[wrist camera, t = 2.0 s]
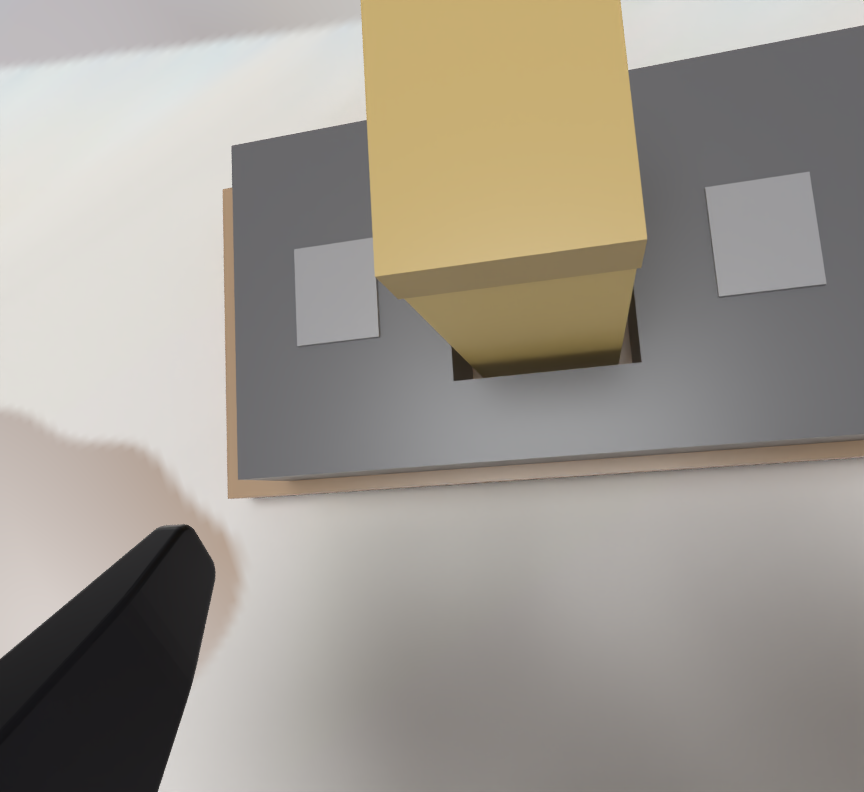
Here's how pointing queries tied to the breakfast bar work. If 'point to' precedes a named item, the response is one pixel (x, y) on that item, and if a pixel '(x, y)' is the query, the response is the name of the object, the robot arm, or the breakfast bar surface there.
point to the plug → (505, 175)
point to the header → (647, 318)
